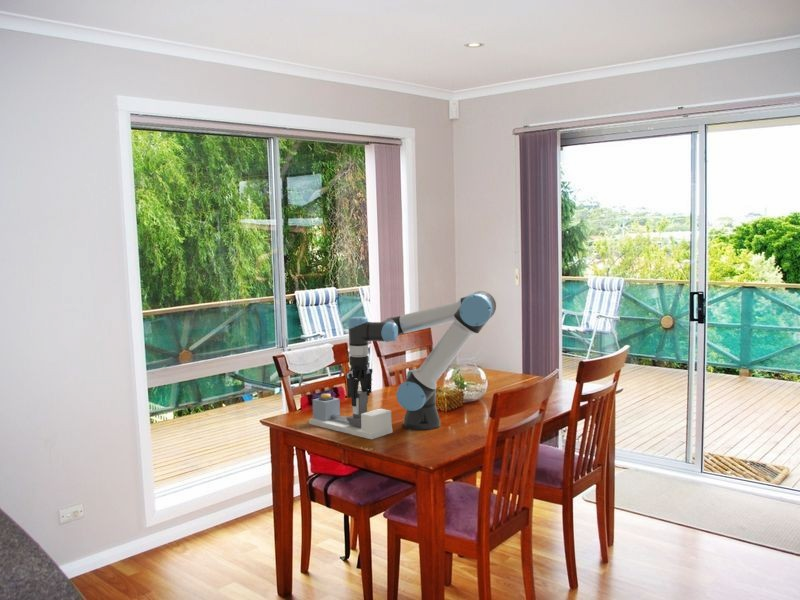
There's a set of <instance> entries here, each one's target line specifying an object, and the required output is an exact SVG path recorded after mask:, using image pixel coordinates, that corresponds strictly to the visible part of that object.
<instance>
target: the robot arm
mask: <svg viewBox="0 0 800 600" xmlns="http://www.w3.org/2000/svg"><path fill="white" fill-rule="evenodd" d="M496 309H497V302H496V299H495V298H494V297H493V295H492V294H490V293H489V292H486V291H481V290H480V291H476V292H474V293H471V294H469V295H466V296H463V297H461V298H459V299H458V301H454V302H450V303H445V304H442V305H437V306H433V307H430V308H426V309H422V310H418V311H414V312H410V313H406V314H401V315H399V316H393V317H392V316H391V317H388V318H386V319H384V320H383V321H374V322H373V321H369V319H368V317H366V316H361V315H360V316H352V317H350V318H349V319H348V345H349V349H348V350H349V357H348V358H349V361H348V362H349V365H350V370H349V371H348V372H346V373H345V375H344V377H345V378H346V389H347V390H346V393H347V395H346V396H347V398H350V399H351V406H352V415H353V414H357V415H358V414H359V398H357V393H358V391H359V383H360V389H361V390H360V391H364V392H367V404H368V403H369V402H368V400H369V398H368V397H369V396H370V395H371V393H372V385H373V384H372V379H373V378H372V374H373V368H369V367H368V365H369V356H368V354H369V342H386V343H388V342H395V341H397V339H398V337H399V336H400V335H405V334H409V333H412V332H413V333H414V332H417V331H421V330H426V329H429V328H433V327H437V326H441V325H445V324H451V325H450V326H449V328H448V329H447V330H446V331H445V333H444V334H443V336H442V337H441V338H440V340H439V341H438V342H437V343H436V345H435V346H434V347H433V349H432V350H431V352H430V353H429V354H428V356H427V357H426V358H425V360H424V361H423V362H422V364H421V365H420V366H419V367H418V368H413V369H410V370H408V371H407V372H406V374H407V375H406V379H404V381H403V382H402V383H400V384H399V386H398V387H397V391H396V393H395V394H396V400H397V403H398V404H399V405H400V407H401V408H403V410H406V412H405V415H404V418H403V427H404V428H406V429H410V430H416V431H428V430H434V429H438V428H439V427H441V419H440V415H439V413H438V409H437V405H436V403H437V402H436V401H437V400H436V399H437V398H436V397H437V394H436V393H437V391H436V390H437V388H438V387H437V386H438V385H437V382H438V380H440V378H441V377H442V375H443V374H444V372H445V371H446V370H447V369H448V367H449V366H450V364H451V363H452V362H453V360H455V358H456V357H457V355H458V354H459V353H460V351H461V350H462V349H463V347H464V346H465V345H466V343H467V342H468V341H469V340H470V338H471V337H472V336H473V335H478V334H479V333H480V332H481V331H482V329H483V328H484V326H485V325H486V324H487V322H488V321H489V320H490V319H491V318H492V317H493V316H494V315H495V313H496Z"/></svg>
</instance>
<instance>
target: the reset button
mask: <svg viewBox="0 0 800 600" xmlns="http://www.w3.org/2000/svg"><path fill="white" fill-rule="evenodd" d="M318 398H319V400H322V401H329V400H333V398H334V396H332V395H331V393H321V395H320V397H318Z"/></svg>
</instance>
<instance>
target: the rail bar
mask: <svg viewBox="0 0 800 600" xmlns="http://www.w3.org/2000/svg"><path fill="white" fill-rule="evenodd" d="M347 417H348V416H345V415H341V414H340V415H336V414H334V415H331V420H334V421H338V422H342V423H347V424H349V421H347Z"/></svg>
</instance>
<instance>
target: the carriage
mask: <svg viewBox="0 0 800 600" xmlns="http://www.w3.org/2000/svg"><path fill="white" fill-rule="evenodd" d="M357 398H359V414H358V415H357V414H353V413H352V415H350V416H349V415H348V416H346V417H347V421H349V425H353V426H357V427H361V414H362V413H366V412H368V403H367V392H364V391H362V390H358V393H357Z"/></svg>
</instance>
